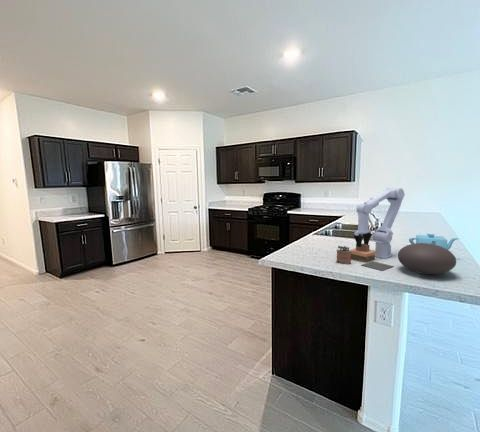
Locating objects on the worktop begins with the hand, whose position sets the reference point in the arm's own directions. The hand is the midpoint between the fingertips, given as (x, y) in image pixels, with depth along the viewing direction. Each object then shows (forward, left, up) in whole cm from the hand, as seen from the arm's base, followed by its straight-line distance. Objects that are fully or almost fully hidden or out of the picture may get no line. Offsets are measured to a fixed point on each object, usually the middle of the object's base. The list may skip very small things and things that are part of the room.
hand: (362, 245), depth 161 cm
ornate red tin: (+16, -2, -9) cm, 18 cm away
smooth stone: (-2, +33, -9) cm, 34 cm away
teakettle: (-36, +24, -9) cm, 44 cm away
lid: (0, 0, -4) cm, 4 cm away
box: (0, 0, -8) cm, 8 cm away
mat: (+7, +13, -8) cm, 17 cm away
